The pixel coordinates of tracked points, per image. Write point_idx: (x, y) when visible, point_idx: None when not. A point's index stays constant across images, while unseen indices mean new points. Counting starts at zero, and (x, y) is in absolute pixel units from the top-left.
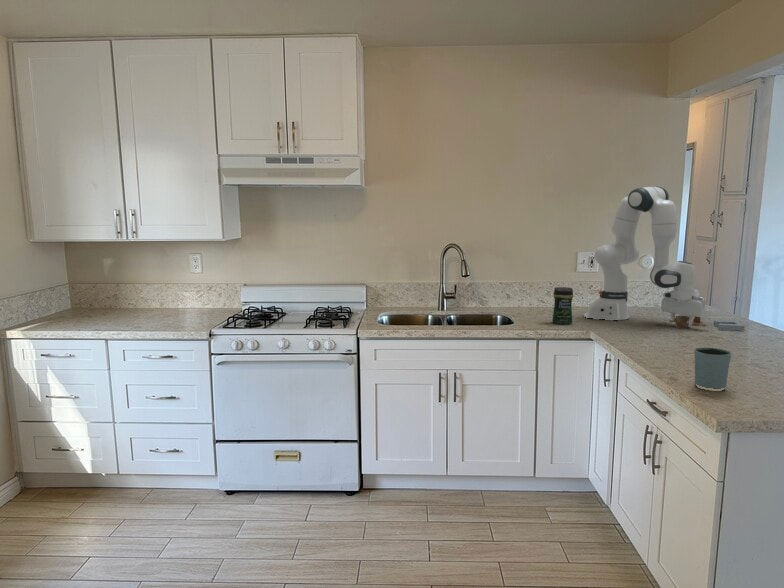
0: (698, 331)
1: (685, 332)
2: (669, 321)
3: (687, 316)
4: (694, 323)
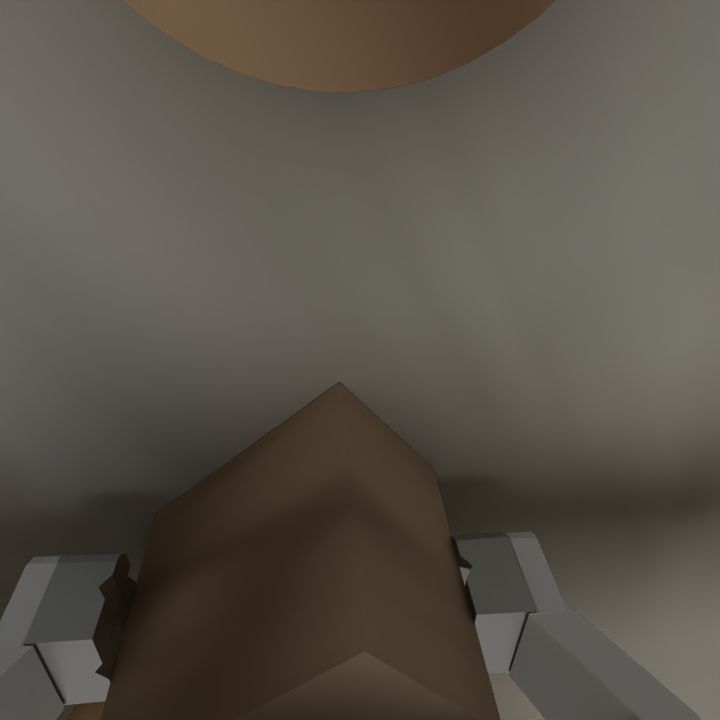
0: (693, 575)
1: None
2: (86, 711)
3: (390, 683)
4: (403, 81)
